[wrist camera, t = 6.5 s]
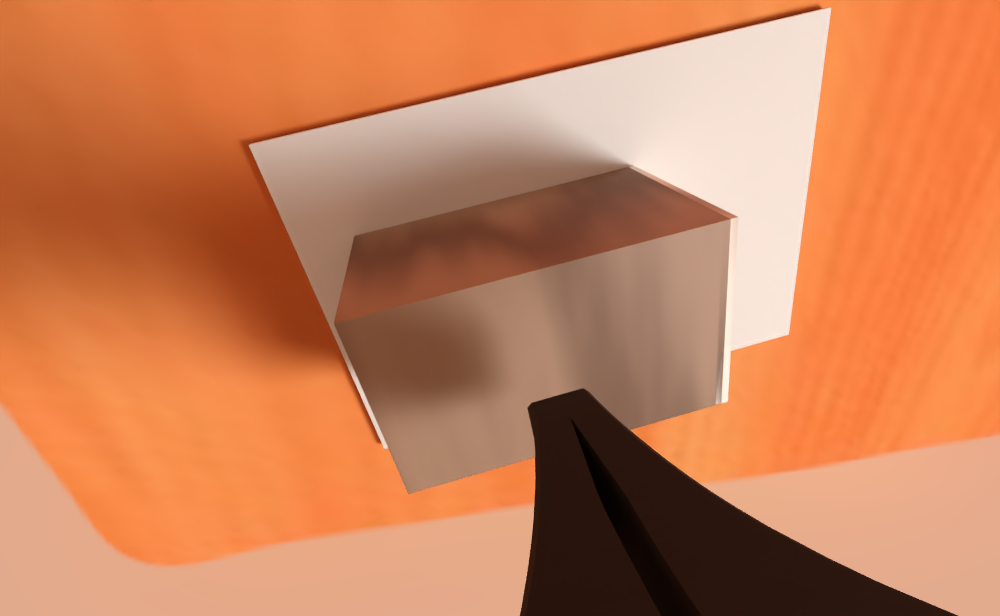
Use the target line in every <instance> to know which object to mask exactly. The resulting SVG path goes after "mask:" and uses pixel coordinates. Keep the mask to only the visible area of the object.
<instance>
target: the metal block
mask: <svg viewBox="0 0 1000 616" xmlns="http://www.w3.org/2000/svg"><path fill="white" fill-rule="evenodd" d="M737 233H738V217H737V216H735V215H733V214H731V213H729V212H727V211H725V210H723V209H721V208H719V207H717V206H715V205H713V204H711V203H709V202H707V201H705V200H703V199H701V198H699V197H697V196H695V195H693V194H690V193H688V192H686V191H684V190H682V189H680V188H678V187H676V186H674V185H672V184H670V183H668V182H666V181H664V180H662V179H660V178H658V177H656V176H654V175H652V174H650V173H648V172H646V171H644V170H642V169H640V168H638V167H635V166H630V167H626V168H622V169H618V170H614V171H610V172H607V173H603V174H599V175H595V176H591V177H587V178H583V179H579V180H575V181H571V182H567V183H563V184H559V185H555V186H551V187H547V188H543V189H539V190H535V191H531V192H527V193H523V194H519V195H515V196H511V197H507V198H503V199H499V200H495V201H491V202H487V203H483V204H479V205H475V206H471V207H467V208H463V209H459V210H456V211H452V212H448V213H444V214H440V215H436V216H432V217H428V218H424V219H420V220H416V221H412V222H408V223H404V224H400V225H396V226H392V227H388V228H384V229H380V230H376V231H372V232H368V233H364V234H360V235H356V236H354V240H353V244H352V248H351V252H350V257H349V261H348V265H347V269H346V273H345V278H344V282H343V286H342V290H341V295H340V299H339V303H338V307H337V312H336V316H335V320H334V326H335V328H336V330H337V332H338V335H339V337H340V339H341V341H342V344H343V346H344V348H345V351H346V353H347V355H348V357H349V360H350V362H351V364H352V366H353V369H354V371H355V373H356V376H357V378H358V380H359V382H360V385H361V387H362V389H363V392H364V394H365V396H366V398H367V401H368V403H369V405H370V407H371V410H372V412H373V414H374V417H375V419H376V421H377V423H378V426H379V428H380V430H381V432H382V435H383V437H384V439H385V442H386V444H387V446H388V448H389V451H390V453H391V455H392V458H393V460H394V462H395V464H396V467H397V469H398V471H399V473H400V476H401V478H402V480H403V483H404V485H405V487H406V489H407V492H408V494H410V493H414V492H417V491H421V490H424V489H428V488H431V487H434V486H438V485H441V484H445V483H448V482H452V481H455V480H459V479H462V478H465V477H469V476H472V475H476V474H479V473H483V472H486V471H490V470H493V469H497V468H500V467H503V466H507V465H510V464H514V463H517V462H521V461H524V460H528V459H531V458H534V457H535V444H534V436H533V432H532V427H531V423H530V418H529V414H528V409H527V408H528V406H529V405H530V404H531V403H532V402H536V401H539V400H543V399H546V398H550V397H553V396H557V395H561V394H564V393H568V392H571V391H575V390H578V389H582V388H584V389H586V390H587V391H589V392H590V393H591V394H592V395H593V396H594V397H595V398H596V399H597V400H598V401H599V402H600V403H601V404H602V405H603V406H604V407H605V408H606V409H607V410H608V411H609V412H610V413H611V414H612V415H613V416H614V417H616V418H617V419H618V420H619V421H620V422H621V423H622V424H623V425H624V426H626V427H627V428H628V429H629V430H631V429H634V428H638V427H641V426H645V425H648V424H652V423H655V422H659V421H662V420H665V419H669V418H672V417H676V416H679V415H683V414H686V413H690V412H693V411H696V410H700V409H703V408H707V407H710V406H714V405H717V404H721V403H724V402H728V386H729V369H730V352H731V335H732V318H733V301H734V284H735V267H736V250H737Z"/></svg>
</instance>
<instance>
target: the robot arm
mask: <svg viewBox="0 0 1000 616" xmlns="http://www.w3.org/2000/svg"><path fill="white" fill-rule="evenodd" d="M527 409H528V414H529V418H530V423H531V427H532V432H533V436H534V444H535V472H536V485H535V505H534V521H533V533H532V542H531V550H530V558H529V566H528V572H527V578H526V579H527V580H526V584H525V590H524V596H523V602H522V608H521V613H520V616H957V615H955V614H953V613H950V612H948V611H946V610H943V609H941V608H938V607H936V606H934V605H931V604H929V603H926V602H924V601H922V600H919V599H917V598H915V597H912V596H910V595H907V594H905V593H903V592H900V591H898V590H896V589H893V588H891V587H888V586H886V585H884V584H881V583H879V582H877V581H875V580H873V579H871V578H868V577H866V576H864V575H862V574H860V573H858V572H856V571H854V570H852V569H850V568H848V567H845V566H843V565H841V564H839V563H837V562H835V561H833V560H831V559H829V558H827V557H825V556H823V555H821V554H819V553H817V552H816V551H814V550H811V549H810V548H808V547H806V546H804V545H802V544H800V543H799V542H797V541H795V540H793V539H791V538H789V537H787V536H785V535H783V534H781V533H780V532H778V531H776V530H774V529H772V528H770V527H768V526H766V525H765V524H763V523H761V522H760V521H758V520H756V519H755V518H753V517H751V516H750V515H748V514H746V513H745V512H743V511H741V510H740V509H738V508H736V507H735V506H733V505H731V504H730V503H728V502H727V501H725V500H723V499H722V498H720V497H719V496H717V495H716V494H714V493H712V492H711V491H710V490H708V489H707V488H705V487H704V486H702V485H701V484H699V483H698V482H696V481H695V480H694V479H692V478H691V477H689V476H688V475H686V474H685V473H684V472H682V471H681V470H680V469H678V468H677V467H676V466H674V465H673V464H671V463H670V462H669V461H667V460H666V459H665V458H664V457H662V456H661V455H660V454H658V453H657V452H656V451H655V450H653V449H652V448H651V447H650V446H648V445H647V444H646V443H645V442H644V441H642V440H641V439H640V438H639V437H637V436H636V435H635V434H634V433H633V432H631V431H630V430H629V429H628V428H627V427H626V426H624V425H623V424H622V423H621V422H620V421H619V420H618V419H617V418H616V417H614V416H613V415H612V414H611V413H610V412H609V411H608V410H607V409H606V408H605V407H604V406H603V405H602V404H601V403H600V402H599V401H598V400H597V399H596V398H595V397H594V396H593V395H592V394H591V393H590V392H589V391H587V390H586V389H584V388H582V389H578V390H575V391H571V392H568V393H564V394H561V395H557V396H553V397H550V398H546V399H543V400H539V401H536V402H532V403H531V404H530V405H529V406H528V408H527Z"/></svg>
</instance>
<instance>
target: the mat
mask: <svg viewBox="0 0 1000 616" xmlns="http://www.w3.org/2000/svg"><path fill="white" fill-rule="evenodd" d="M830 13H831V8H823V9H819V10H814V11H810V12H806V13H802V14H797V15H793V16H789V17H785V18H781V19H776V20H772V21H768V22H764V23H759V24H755V25H751V26H747V27H742V28H738V29H734V30H730V31H725V32H721V33H717V34H713V35H708V36H704V37H700V38H696V39H692V40H687V41H683V42H679V43H675V44H670V45H666V46H662V47H658V48H653V49H649V50H645V51H641V52H636V53H632V54H628V55H624V56H619V57H615V58H611V59H607V60H602V61H598V62H594V63H590V64H586V65H581V66H577V67H573V68H569V69H564V70H560V71H556V72H552V73H547V74H543V75H539V76H535V77H530V78H526V79H522V80H518V81H513V82H509V83H505V84H501V85H496V86H492V87H488V88H484V89H480V90H475V91H471V92H467V93H463V94H458V95H454V96H450V97H446V98H441V99H437V100H433V101H429V102H424V103H420V104H416V105H412V106H407V107H403V108H399V109H395V110H391V111H386V112H382V113H378V114H374V115H369V116H365V117H361V118H357V119H352V120H348V121H344V122H340V123H335V124H331V125H327V126H323V127H318V128H314V129H310V130H306V131H301V132H297V133H293V134H289V135H285V136H280V137H276V138H272V139H268V140H263V141H259V142H255V143H251V144H249V147H250V149H251V152H252V154H253V156H254V158H255V161H256V163H257V165H258V167H259V170H260V172H261V174H262V176H263V179H264V181H265V183H266V185H267V187H268V190H269V192H270V194H271V196H272V199H273V201H274V203H275V205H276V208H277V210H278V212H279V214H280V217H281V219H282V221H283V223H284V226H285V228H286V230H287V232H288V234H289V237H290V239H291V241H292V243H293V246H294V248H295V250H296V252H297V255H298V257H299V259H300V261H301V264H302V266H303V268H304V270H305V273H306V275H307V277H308V279H309V281H310V284H311V286H312V288H313V290H314V293H315V295H316V297H317V299H318V302H319V304H320V306H321V308H322V311H323V313H324V315H325V317H326V320H327V322H328V324H329V326H330V328H331V331H332V333H333V335H334V337H335V340H336V342H337V344H338V346H339V349H340V351H341V353H342V355H343V358H344V360H345V362H346V364H347V367H348V369H349V371H350V373H351V376H352V378H353V380H354V382H355V384H356V387H357V389H358V391H359V393H360V396H361V398H362V400H363V402H364V405H365V407H366V409H367V411H368V414H369V416H370V418H371V420H372V423H373V425H374V427H375V429H376V431H377V434H378V436H379V438H380V440H381V443H382V445H383V447H384V449H386V448H388V446H387V444H386V442H385V439H384V437H383V435H382V432H381V430H380V428H379V426H378V423H377V421H376V419H375V417H374V414H373V412H372V410H371V407H370V405H369V403H368V401H367V398H366V396H365V394H364V392H363V389H362V387H361V385H360V382H359V380H358V378H357V376H356V373H355V371H354V369H353V366H352V364H351V362H350V360H349V357H348V355H347V353H346V351H345V348H344V346H343V344H342V341H341V339H340V337H339V335H338V332H337V330H336V328H335V326H334V320H335V316H336V312H337V307H338V303H339V299H340V295H341V290H342V286H343V282H344V278H345V273H346V269H347V265H348V261H349V257H350V252H351V248H352V244H353V240H354V236H356V235H360V234H364V233H368V232H372V231H376V230H380V229H384V228H388V227H392V226H396V225H400V224H404V223H408V222H412V221H416V220H420V219H424V218H428V217H432V216H436V215H440V214H444V213H448V212H452V211H456V210H459V209H463V208H467V207H471V206H475V205H479V204H483V203H487V202H491V201H495V200H499V199H503V198H507V197H511V196H515V195H519V194H523V193H527V192H531V191H535V190H539V189H543V188H547V187H551V186H555V185H559V184H563V183H567V182H571V181H575V180H579V179H583V178H587V177H591V176H595V175H599V174H603V173H607V172H610V171H614V170H618V169H622V168H626V167H630V166H635V167H638V168H640V169H642V170H644V171H646V172H648V173H650V174H652V175H654V176H656V177H658V178H660V179H662V180H664V181H666V182H668V183H670V184H672V185H674V186H676V187H678V188H680V189H682V190H684V191H686V192H688V193H690V194H693V195H695V196H697V197H699V198H701V199H703V200H705V201H707V202H709V203H711V204H713V205H715V206H717V207H719V208H721V209H723V210H725V211H727V212H729V213H731V214H733V215H735V216H737V217H738V233H737V250H736V267H735V284H734V301H733V318H732V335H731V351H732V350H735V349H739V348H743V347H746V346H750V345H753V344H757V343H760V342H764V341H767V340H771V339H774V338H778V337H781V336H785V335H788V334H789V327H790V320H791V312H792V304H793V297H794V289H795V281H796V274H797V266H798V258H799V251H800V243H801V235H802V228H803V220H804V212H805V205H806V197H807V189H808V182H809V174H810V166H811V159H812V151H813V143H814V136H815V128H816V121H817V113H818V105H819V98H820V90H821V82H822V75H823V67H824V59H825V52H826V44H827V36H828V29H829V21H830Z"/></svg>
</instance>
